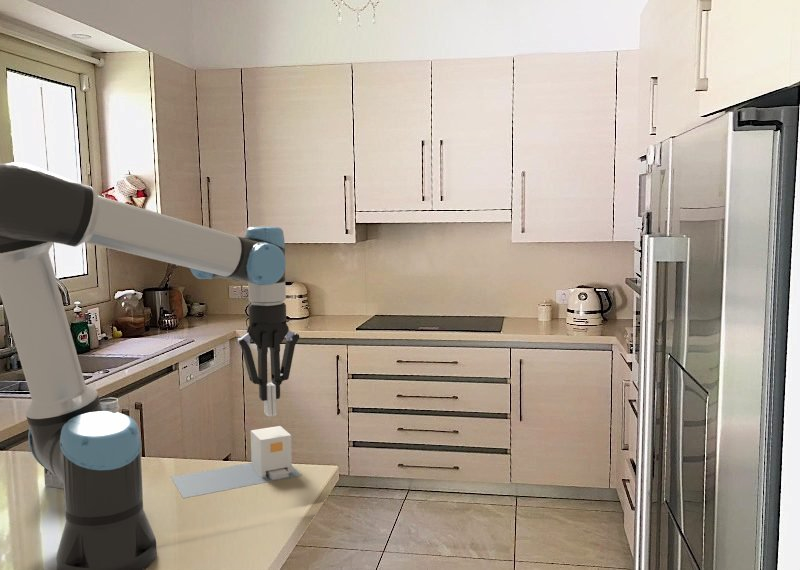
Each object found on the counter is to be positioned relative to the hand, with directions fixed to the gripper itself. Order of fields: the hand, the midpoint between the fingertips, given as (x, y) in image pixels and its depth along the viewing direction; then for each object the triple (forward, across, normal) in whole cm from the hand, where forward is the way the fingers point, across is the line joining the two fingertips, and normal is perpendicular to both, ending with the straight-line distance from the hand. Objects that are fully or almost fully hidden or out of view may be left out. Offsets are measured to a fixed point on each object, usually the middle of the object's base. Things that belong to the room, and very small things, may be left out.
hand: (270, 414), depth 155 cm
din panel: (+13, +8, 0) cm, 15 cm away
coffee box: (+14, +37, -18) cm, 43 cm away
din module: (+12, 0, 0) cm, 12 cm away
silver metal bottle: (+14, +31, -3) cm, 34 cm away
